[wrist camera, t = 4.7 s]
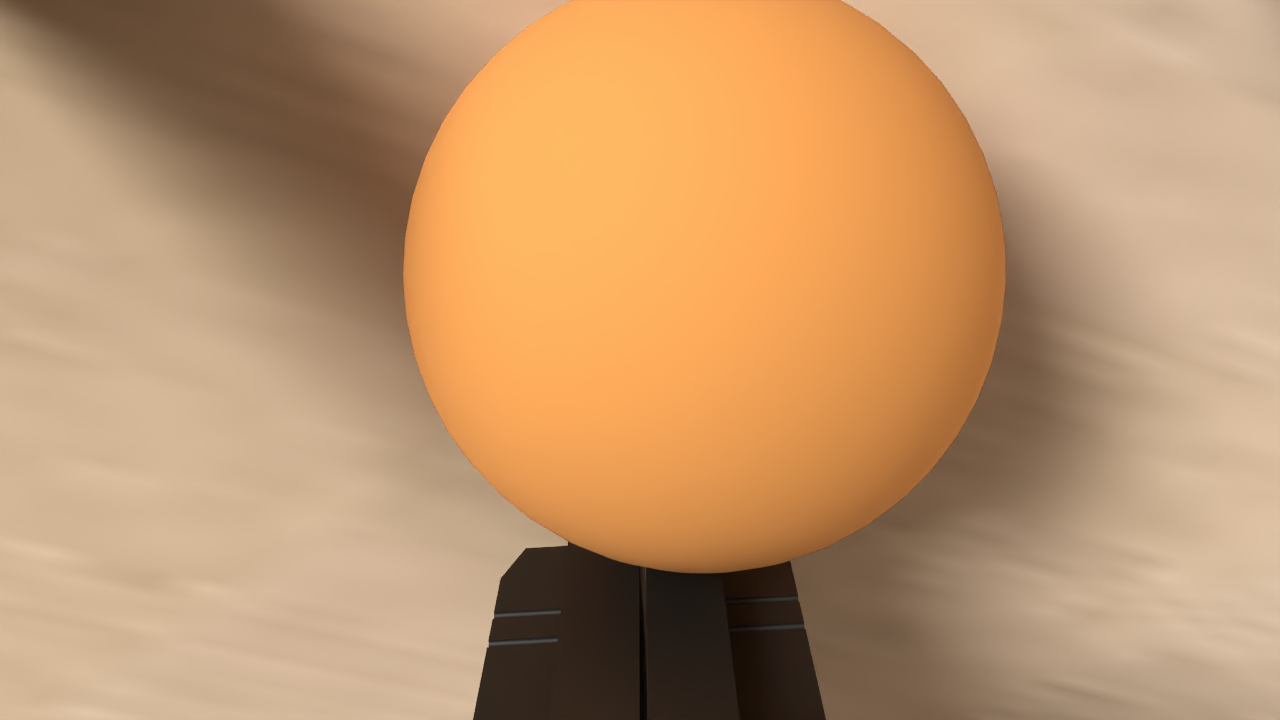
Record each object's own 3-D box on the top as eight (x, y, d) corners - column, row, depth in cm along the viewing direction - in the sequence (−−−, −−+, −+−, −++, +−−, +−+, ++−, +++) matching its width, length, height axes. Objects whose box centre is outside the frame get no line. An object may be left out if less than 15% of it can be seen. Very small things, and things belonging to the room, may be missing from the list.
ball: (374, 683, 7) (359, -149, 6) (427, 507, 12) (421, 34, 11) (1125, 649, 7) (1157, -109, 7) (874, 496, 12) (884, 48, 12)
